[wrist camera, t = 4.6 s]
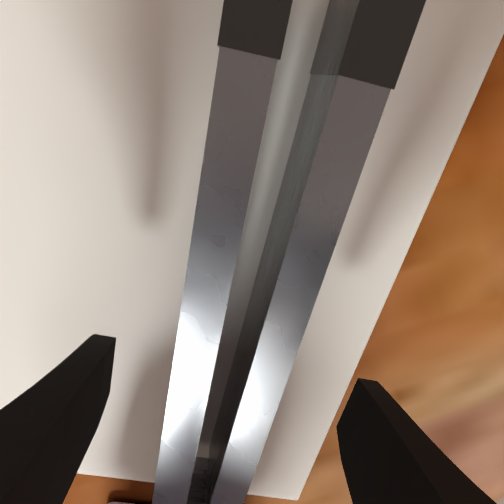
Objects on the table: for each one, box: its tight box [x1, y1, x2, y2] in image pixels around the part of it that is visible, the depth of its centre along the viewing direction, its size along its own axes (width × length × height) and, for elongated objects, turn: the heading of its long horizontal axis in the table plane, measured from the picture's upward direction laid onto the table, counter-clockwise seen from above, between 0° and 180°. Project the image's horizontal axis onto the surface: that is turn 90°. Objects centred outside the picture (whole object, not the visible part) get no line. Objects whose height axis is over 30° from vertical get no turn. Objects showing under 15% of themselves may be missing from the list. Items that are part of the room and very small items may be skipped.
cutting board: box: [0, 0, 504, 500], centre depth 14 cm, size 24×15×1 cm, turn 167°
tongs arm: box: [152, 0, 293, 504], centre depth 12 cm, size 18×1×4 cm, turn 169°
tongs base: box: [186, 0, 426, 504], centre depth 13 cm, size 21×3×4 cm, turn 167°
